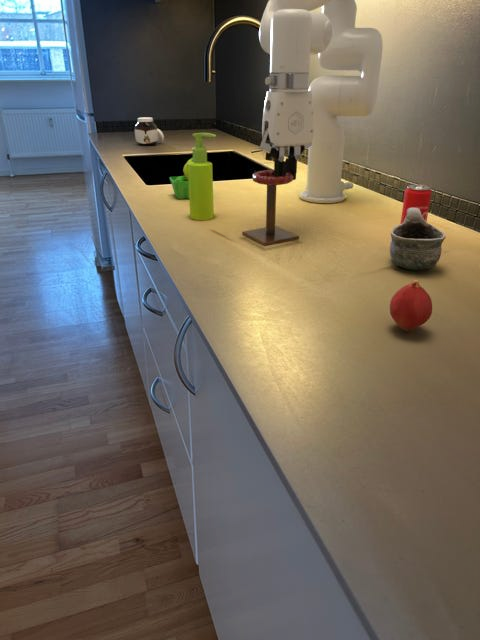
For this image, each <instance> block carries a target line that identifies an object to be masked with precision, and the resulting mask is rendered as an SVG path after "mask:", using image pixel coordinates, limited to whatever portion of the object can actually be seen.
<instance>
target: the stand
mask: <svg viewBox="0 0 480 640" xmlns="http://www.w3.org/2000/svg"><path fill="white" fill-rule="evenodd" d="M277 186H278V185H266V204H265V205H266V208H265V209H266V210H265V227H260V228H255V229H250V230H244V231H242V232H241V236H243V237H245V238H247V239H249V240H250V241H252V242H255V243H257V244H259V245H261V246H263V247H268V246H272V245H278V244H282V243H283V244H284V243H288V242H293V241H297V240H298V241H299V240H300V235H297V234H295V233H294V232H290V231H288V230H286V229H284V228H282V227H279V226H277V225H276V214H277Z"/></svg>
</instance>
